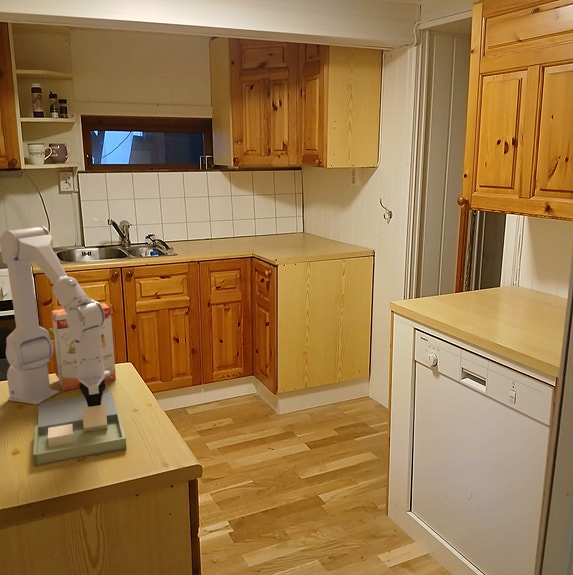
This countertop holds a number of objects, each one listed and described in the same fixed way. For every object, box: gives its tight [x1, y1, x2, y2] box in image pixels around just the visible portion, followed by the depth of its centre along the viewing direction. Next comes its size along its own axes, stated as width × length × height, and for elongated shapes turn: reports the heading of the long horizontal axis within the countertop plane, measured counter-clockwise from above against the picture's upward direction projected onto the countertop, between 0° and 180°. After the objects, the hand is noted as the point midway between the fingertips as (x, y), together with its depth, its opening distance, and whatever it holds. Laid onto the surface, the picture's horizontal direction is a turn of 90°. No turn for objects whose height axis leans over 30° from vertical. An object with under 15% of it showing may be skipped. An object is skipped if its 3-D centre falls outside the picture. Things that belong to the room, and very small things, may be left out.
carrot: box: [48, 327, 59, 379], centre depth 159 cm, size 5×5×15 cm
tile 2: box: [82, 405, 108, 432], centre depth 132 cm, size 5×5×2 cm
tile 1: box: [48, 424, 74, 447], centre depth 128 cm, size 5×5×2 cm
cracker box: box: [51, 302, 117, 392], centre depth 157 cm, size 14×6×21 cm, turn 122°
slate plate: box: [37, 391, 118, 434], centre depth 139 cm, size 14×17×2 cm
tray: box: [32, 411, 128, 467], centre depth 127 cm, size 14×18×2 cm
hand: (95, 411), depth 136 cm, fingers closed
